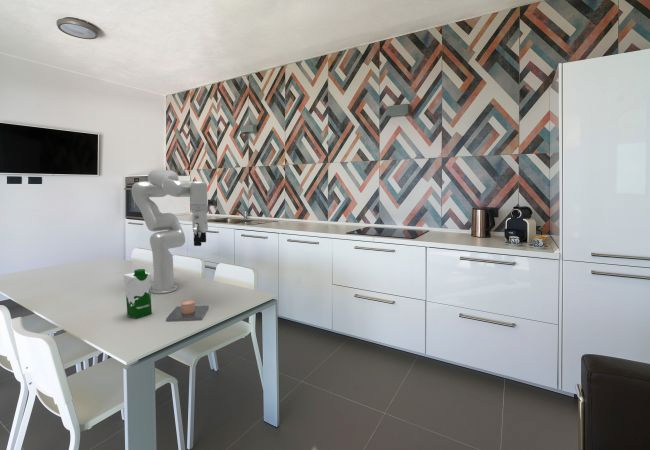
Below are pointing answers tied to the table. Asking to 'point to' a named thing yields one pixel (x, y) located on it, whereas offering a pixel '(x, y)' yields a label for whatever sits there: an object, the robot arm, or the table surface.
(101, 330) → the table surface
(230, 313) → the table surface
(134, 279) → the milk carton
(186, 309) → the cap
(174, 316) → the stud plate
